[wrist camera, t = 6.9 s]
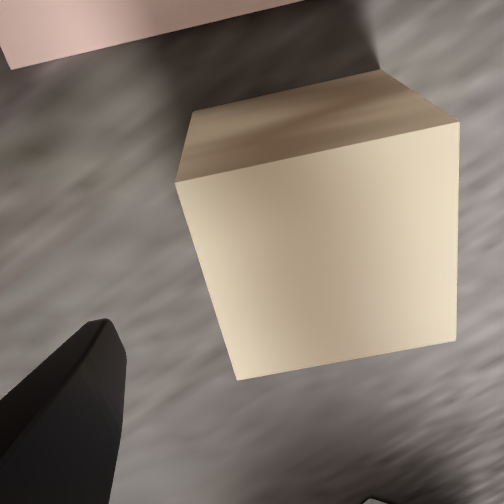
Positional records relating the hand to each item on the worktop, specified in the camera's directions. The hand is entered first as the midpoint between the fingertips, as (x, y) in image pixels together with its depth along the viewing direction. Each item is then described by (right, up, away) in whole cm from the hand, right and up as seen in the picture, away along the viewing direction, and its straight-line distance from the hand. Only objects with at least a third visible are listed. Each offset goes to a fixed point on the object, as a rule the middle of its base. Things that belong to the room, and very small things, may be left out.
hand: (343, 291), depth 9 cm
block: (0, +3, +5) cm, 6 cm away
